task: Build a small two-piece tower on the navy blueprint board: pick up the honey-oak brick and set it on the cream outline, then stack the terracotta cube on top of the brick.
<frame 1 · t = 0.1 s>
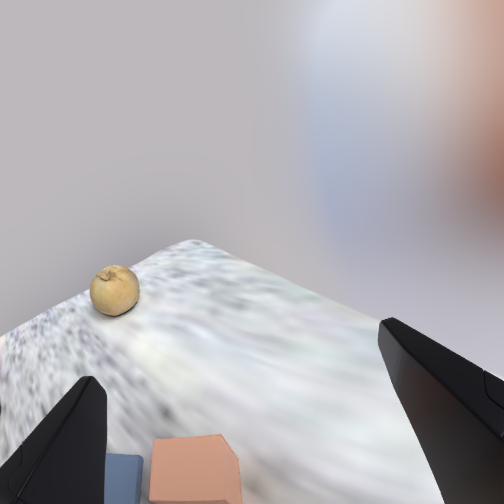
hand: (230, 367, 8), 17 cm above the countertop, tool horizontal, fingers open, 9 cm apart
terracotta cube: (209, 487, 18), on the countertop
onion: (123, 306, 42), on the countertop
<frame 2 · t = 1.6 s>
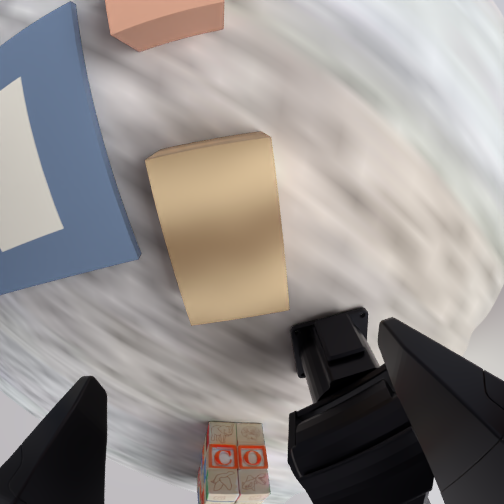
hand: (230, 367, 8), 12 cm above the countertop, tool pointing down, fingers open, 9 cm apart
stack of blocks: (223, 455, 34), on the countertop
blueprint board: (10, 167, 15), on the countertop
terracotta cube: (173, 5, 12), on the countertop
oak brick: (224, 216, 19), on the countertop
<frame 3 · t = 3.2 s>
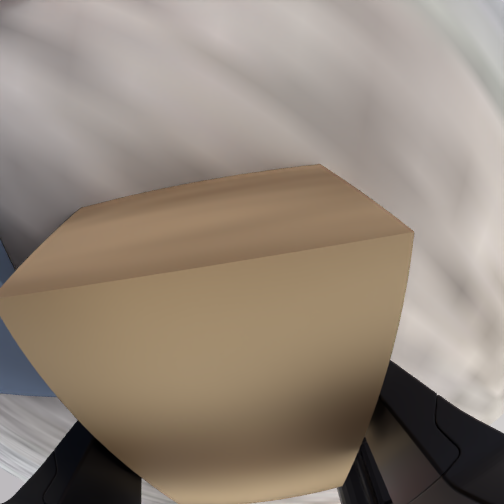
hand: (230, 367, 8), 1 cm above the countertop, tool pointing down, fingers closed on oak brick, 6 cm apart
oak brick: (229, 341, 9), on the countertop, touching gripper
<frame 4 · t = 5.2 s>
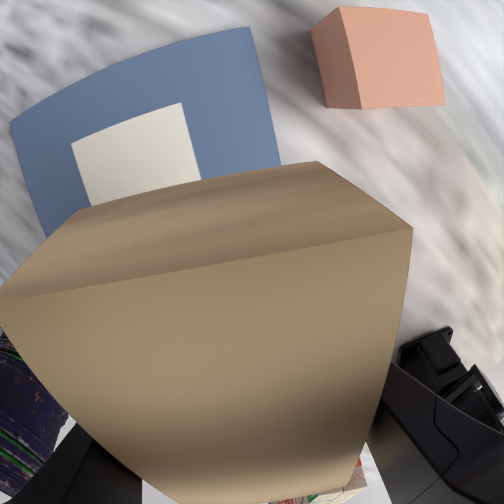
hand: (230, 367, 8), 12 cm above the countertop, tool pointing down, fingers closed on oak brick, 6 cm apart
stack of blocks: (301, 460, 36), on the countertop
storage jar: (40, 357, 23), on the countertop
blueprint board: (152, 206, 18), on the countertop
terracotta cube: (357, 65, 15), on the countertop
oak brick: (229, 341, 9), point 11 cm above the countertop, touching gripper
when the fingers open (3 cm above the countertop, at t = 7.5 s): oak brick drops 1 cm, resting on blueprint board.
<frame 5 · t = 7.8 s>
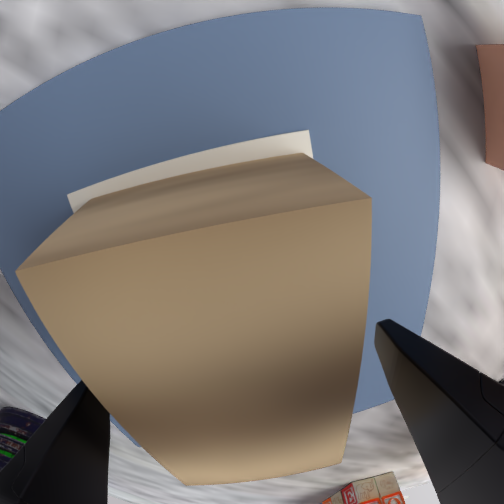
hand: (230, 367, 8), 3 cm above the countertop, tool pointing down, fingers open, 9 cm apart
stack of blocks: (336, 500, 30), on the countertop
storage jar: (49, 439, 16), on the countertop
blueprint board: (225, 305, 11), on the countertop
oak brick: (227, 320, 10), point 1 cm above the countertop, touching blueprint board
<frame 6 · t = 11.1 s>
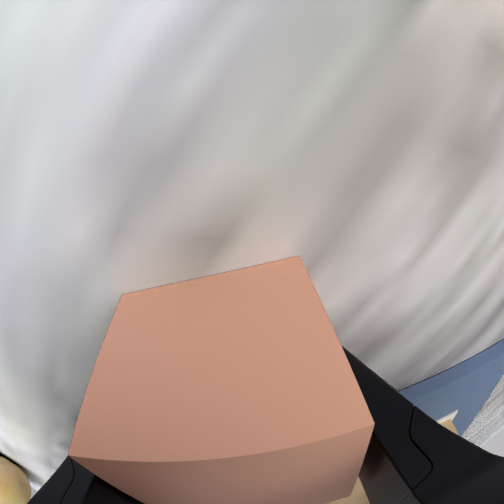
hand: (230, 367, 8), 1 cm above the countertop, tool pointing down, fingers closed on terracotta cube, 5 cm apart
blueprint board: (369, 454, 16), on the countertop
terracotta cube: (228, 342, 9), on the countertop, touching gripper
onion: (3, 456, 16), on the countertop
oak brick: (373, 464, 15), point 1 cm above the countertop, touching blueprint board
when the fingers open (7 cm above the countertop, at t = 14.8 s): terracotta cube drops 1 cm, resting on oak brick.
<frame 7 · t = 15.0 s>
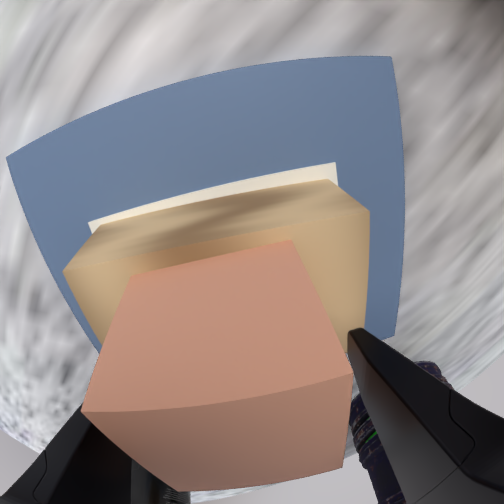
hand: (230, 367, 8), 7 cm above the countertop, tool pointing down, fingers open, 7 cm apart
supplement bottle: (156, 447, 23), on the countertop
storage jar: (394, 395, 23), on the countertop
blueprint board: (224, 254, 14), on the countertop
terracotta cube: (227, 321, 10), point 5 cm above the countertop, touching oak brick
oak brick: (223, 262, 13), point 1 cm above the countertop, touching blueprint board, terracotta cube
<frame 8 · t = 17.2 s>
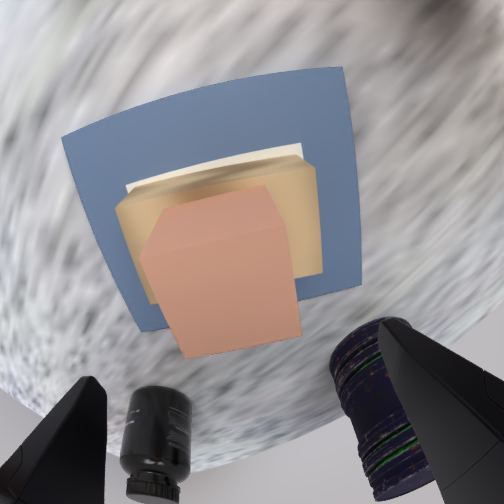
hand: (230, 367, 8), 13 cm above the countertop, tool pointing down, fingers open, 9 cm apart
supplement bottle: (161, 400, 29), on the countertop
storage jar: (372, 351, 28), on the countertop
blueprint board: (223, 210, 20), on the countertop
terracotta cube: (225, 242, 15), point 5 cm above the countertop, touching oak brick
oak brick: (223, 214, 19), point 1 cm above the countertop, touching blueprint board, terracotta cube
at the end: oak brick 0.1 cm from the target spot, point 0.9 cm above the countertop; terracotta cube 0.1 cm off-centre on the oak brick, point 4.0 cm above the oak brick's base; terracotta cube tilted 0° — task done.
